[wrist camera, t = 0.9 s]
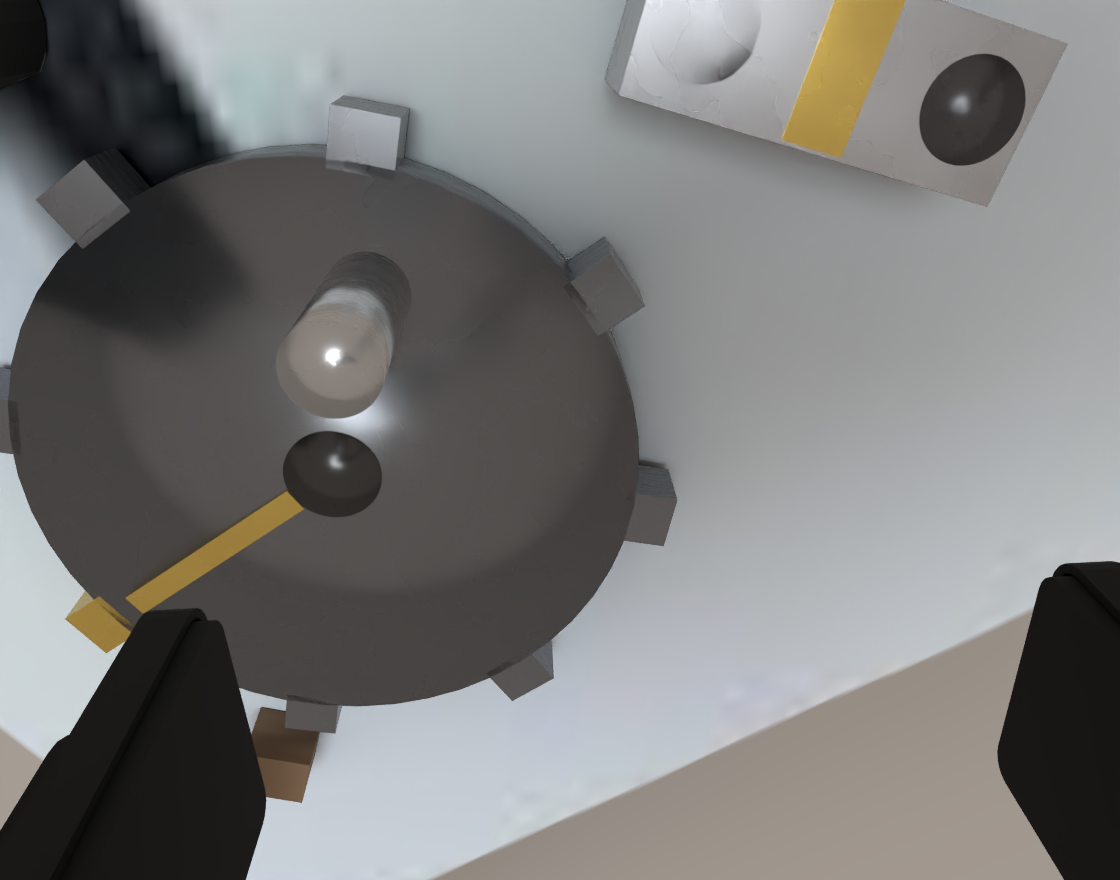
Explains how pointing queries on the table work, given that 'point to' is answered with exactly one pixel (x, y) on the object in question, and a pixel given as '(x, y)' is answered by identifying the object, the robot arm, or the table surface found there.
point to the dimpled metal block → (846, 80)
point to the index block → (283, 755)
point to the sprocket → (329, 418)
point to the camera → (21, 40)
